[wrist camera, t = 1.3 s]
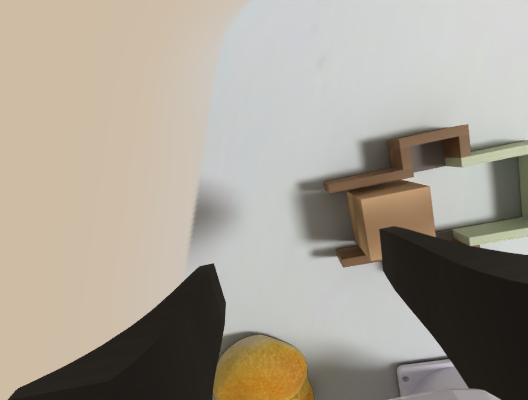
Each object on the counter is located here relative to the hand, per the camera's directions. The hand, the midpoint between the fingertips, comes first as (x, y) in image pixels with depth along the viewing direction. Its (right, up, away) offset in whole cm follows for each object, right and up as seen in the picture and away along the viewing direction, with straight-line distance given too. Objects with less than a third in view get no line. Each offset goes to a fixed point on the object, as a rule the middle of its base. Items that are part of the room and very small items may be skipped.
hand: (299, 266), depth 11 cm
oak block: (+7, +2, +9) cm, 11 cm away
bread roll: (-1, -13, +12) cm, 18 cm away
